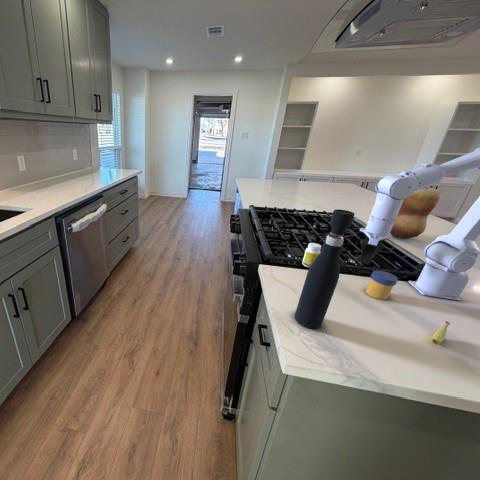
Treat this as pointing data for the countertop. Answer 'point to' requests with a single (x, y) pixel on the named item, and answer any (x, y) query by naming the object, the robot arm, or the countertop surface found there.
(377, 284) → the jam jar
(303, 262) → the supplement bottle
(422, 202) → the butternut squash
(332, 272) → the black water bottle
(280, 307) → the countertop surface
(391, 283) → the jar lid
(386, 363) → the countertop surface
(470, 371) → the countertop surface
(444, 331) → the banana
